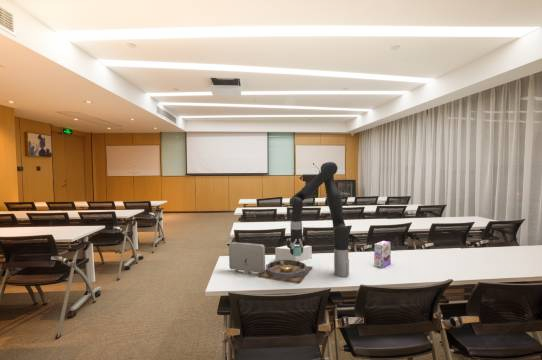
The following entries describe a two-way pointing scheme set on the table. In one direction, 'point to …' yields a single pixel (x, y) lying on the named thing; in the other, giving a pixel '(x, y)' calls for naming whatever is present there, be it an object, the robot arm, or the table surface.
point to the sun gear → (286, 268)
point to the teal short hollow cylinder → (296, 250)
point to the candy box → (382, 254)
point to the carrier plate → (277, 269)
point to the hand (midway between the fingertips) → (296, 253)
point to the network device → (247, 258)
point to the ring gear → (284, 275)
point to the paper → (285, 254)
